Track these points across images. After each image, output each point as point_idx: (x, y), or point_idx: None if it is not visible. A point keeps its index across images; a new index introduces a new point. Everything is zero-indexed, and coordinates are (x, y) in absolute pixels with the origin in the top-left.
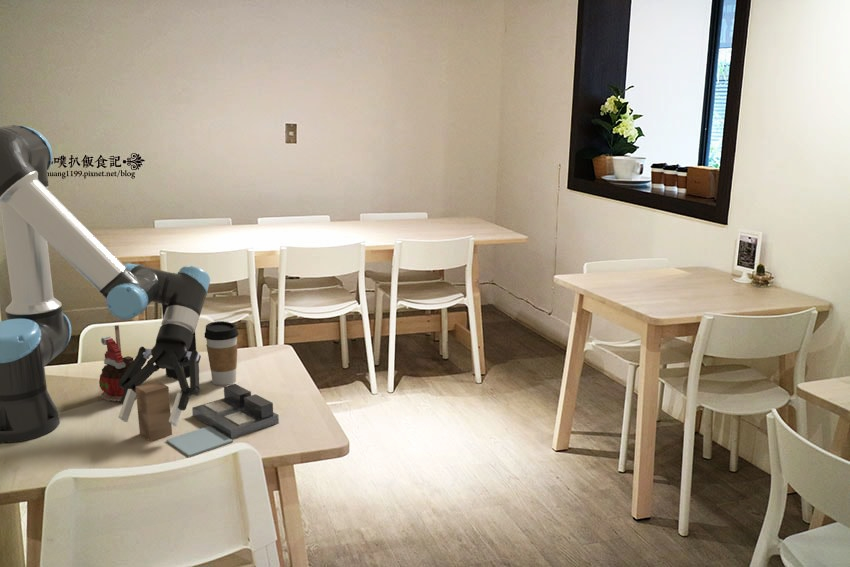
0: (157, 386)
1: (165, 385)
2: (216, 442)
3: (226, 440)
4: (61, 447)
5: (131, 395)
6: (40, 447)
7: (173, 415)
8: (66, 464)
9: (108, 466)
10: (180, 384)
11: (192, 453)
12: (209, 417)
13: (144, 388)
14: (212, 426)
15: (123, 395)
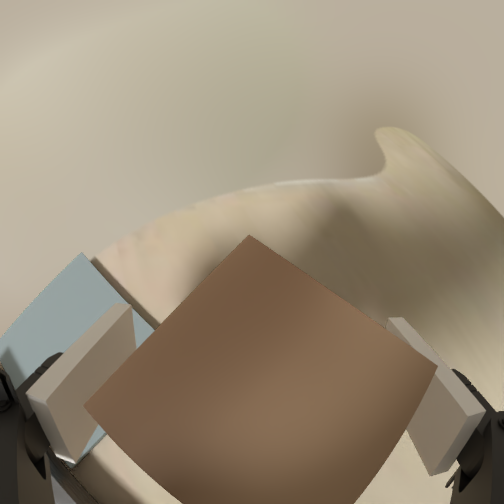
0: (204, 416)
1: (126, 447)
2: (24, 333)
3: (5, 346)
4: (467, 267)
5: (439, 415)
6: (498, 260)
7: (103, 314)
8: (391, 192)
9: (286, 188)
10: (9, 452)
11: (74, 261)
12: (59, 486)
13: (324, 335)
14: (60, 464)
15: (476, 394)
